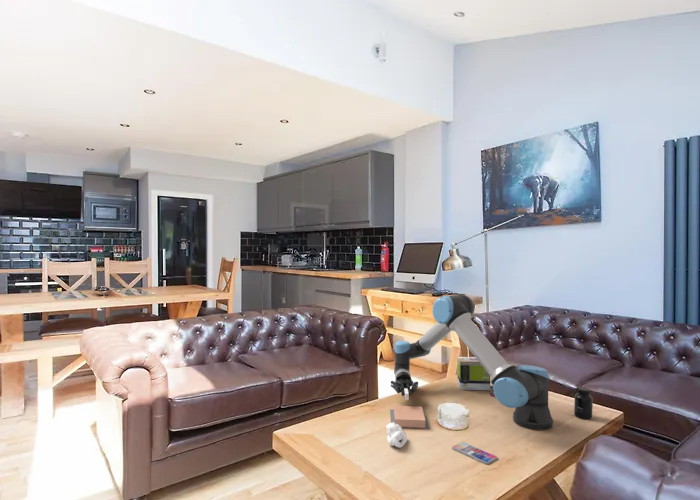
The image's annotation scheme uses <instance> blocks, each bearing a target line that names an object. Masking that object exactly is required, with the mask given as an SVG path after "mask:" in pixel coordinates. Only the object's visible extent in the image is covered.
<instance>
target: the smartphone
mask: <svg viewBox="0 0 700 500" xmlns="http://www.w3.org/2000/svg"><path fill="white" fill-rule="evenodd" d="M451 449H452V451H455V452H458V453H460V454H462V455H463V456H466V457H467V458H468V457H469V458H471V459H472V460H475V461H477V462H478V463H481V464H482V465H486V466H488V465H491V464H493V463H494V462H496V461H498V460H499V457H498V456H497V455H495V454H492V453H490V452H487V451H485V450H483V449H481V448H479V447H476V446H473V445H472V444H469V443H467V442H465V441H461V442H459V443H457V444H455V445H452V446H451Z"/></svg>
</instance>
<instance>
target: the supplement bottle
mask: <svg viewBox="0 0 700 500" xmlns="http://www.w3.org/2000/svg"><path fill="white" fill-rule="evenodd" d="M593 402H594V399H593V397H592V396H591V389H590V388H587V387H585V386H584V387H583V386H578V387H577V391H576V393H575V395H574V404H573V405H574V406H573V407H574V408H573V414H574V416H575V417H576V418H578V419H581V420H586V419H587V420H591V419H592V418H593V408H594V407H593V406H594V405H593V404H594V403H593Z"/></svg>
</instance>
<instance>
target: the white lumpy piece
mask: <svg viewBox="0 0 700 500" xmlns="http://www.w3.org/2000/svg"><path fill="white" fill-rule="evenodd" d="M385 426H386V427H385V428H386V434H387V442H388V445H390V446H392V447H393V446H394V447H396V448H399V449H401V448H403V447H404V446H405V445H406V443H407V442H408V436H407V434H406V433H405V431H404V430H403V429H404V428H401V426H400V425H398V424H395V423H394V422H393V423H391V422H390V423H388V424H387V425H385Z"/></svg>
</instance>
